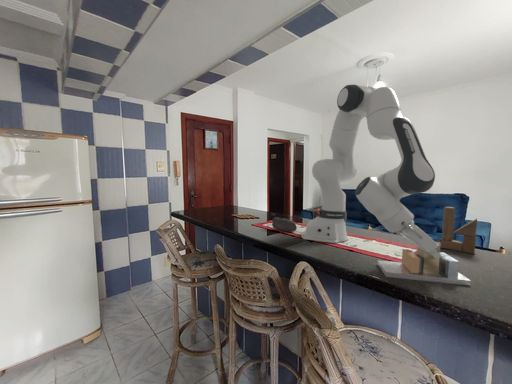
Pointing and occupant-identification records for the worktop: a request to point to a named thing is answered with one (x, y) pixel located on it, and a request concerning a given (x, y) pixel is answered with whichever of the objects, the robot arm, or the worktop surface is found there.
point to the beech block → (428, 261)
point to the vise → (445, 273)
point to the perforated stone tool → (283, 224)
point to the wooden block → (466, 230)
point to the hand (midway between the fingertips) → (430, 251)
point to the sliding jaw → (411, 261)
